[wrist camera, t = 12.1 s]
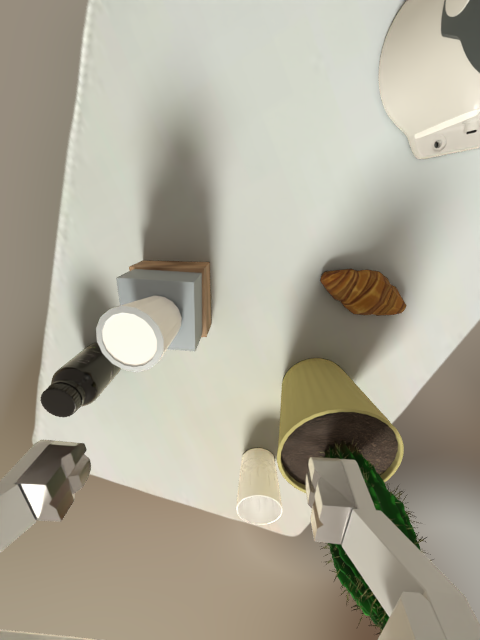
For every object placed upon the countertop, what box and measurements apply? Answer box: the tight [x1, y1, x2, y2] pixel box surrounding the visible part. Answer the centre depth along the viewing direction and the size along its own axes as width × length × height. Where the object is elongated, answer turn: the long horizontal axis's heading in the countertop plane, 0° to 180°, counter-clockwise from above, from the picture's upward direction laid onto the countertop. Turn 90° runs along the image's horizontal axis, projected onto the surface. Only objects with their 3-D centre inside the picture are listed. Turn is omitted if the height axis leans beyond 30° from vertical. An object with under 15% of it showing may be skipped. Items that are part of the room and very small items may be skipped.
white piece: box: [96, 296, 182, 372], centre depth 28 cm, size 7×7×7 cm
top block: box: [116, 269, 202, 351], centre depth 34 cm, size 9×9×5 cm
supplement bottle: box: [41, 343, 121, 417], centre depth 40 cm, size 7×7×12 cm
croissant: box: [320, 269, 406, 316], centre depth 37 cm, size 14×7×5 cm, turn 69°
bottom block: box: [129, 261, 211, 337], centre depth 39 cm, size 10×10×5 cm
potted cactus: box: [277, 358, 431, 634], centre depth 32 cm, size 15×15×30 cm
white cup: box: [236, 448, 282, 525], centre depth 49 cm, size 8×8×10 cm
